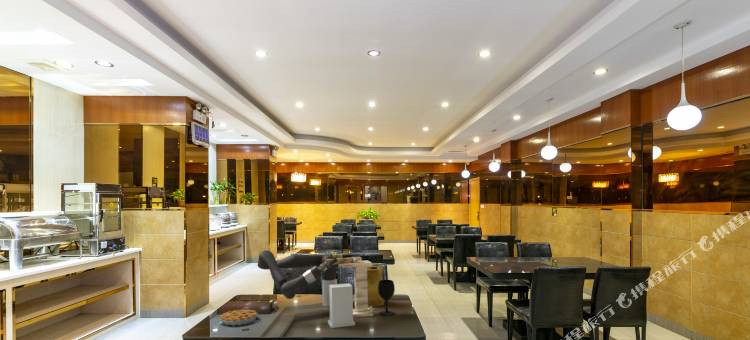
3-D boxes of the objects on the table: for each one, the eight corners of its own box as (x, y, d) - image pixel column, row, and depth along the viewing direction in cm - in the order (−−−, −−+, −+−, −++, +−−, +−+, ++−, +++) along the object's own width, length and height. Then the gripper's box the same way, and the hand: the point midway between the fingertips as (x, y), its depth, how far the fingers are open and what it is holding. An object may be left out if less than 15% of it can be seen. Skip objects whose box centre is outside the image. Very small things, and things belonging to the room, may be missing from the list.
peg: (326, 265, 250) (326, 260, 251) (325, 263, 256) (324, 258, 256) (361, 262, 257) (361, 257, 257) (359, 261, 262) (359, 256, 262)
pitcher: (388, 306, 272) (385, 267, 274) (360, 308, 272) (357, 269, 274) (388, 300, 289) (385, 264, 291) (361, 302, 289) (359, 266, 291)
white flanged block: (327, 322, 242) (327, 284, 243) (351, 320, 246) (350, 282, 247) (331, 328, 232) (330, 288, 233) (355, 325, 236) (354, 286, 237)
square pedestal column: (340, 313, 260) (339, 261, 262) (368, 310, 265) (367, 260, 267) (344, 318, 249) (343, 265, 250) (373, 315, 254) (372, 263, 255)
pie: (246, 313, 265) (246, 305, 265) (264, 320, 249) (264, 312, 249) (213, 321, 249) (213, 313, 250) (229, 329, 234) (229, 320, 234)
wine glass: (398, 313, 258) (397, 280, 259) (387, 317, 250) (386, 283, 251) (386, 310, 265) (385, 278, 266) (375, 314, 257) (374, 281, 258)
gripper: (310, 271, 243) (335, 255, 248) (307, 267, 257) (331, 252, 262) (317, 282, 244) (341, 265, 249) (313, 277, 258) (337, 262, 262)
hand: (336, 259), depth 255 cm, fingers closed on peg, 3 cm apart
